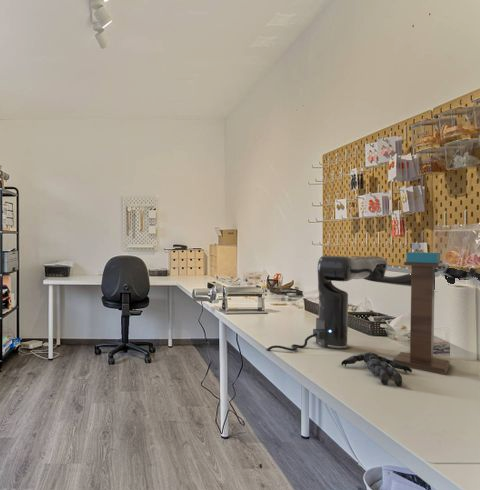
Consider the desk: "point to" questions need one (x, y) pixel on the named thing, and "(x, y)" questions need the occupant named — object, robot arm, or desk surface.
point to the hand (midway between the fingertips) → (454, 266)
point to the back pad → (423, 257)
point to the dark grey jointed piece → (380, 366)
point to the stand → (422, 321)
